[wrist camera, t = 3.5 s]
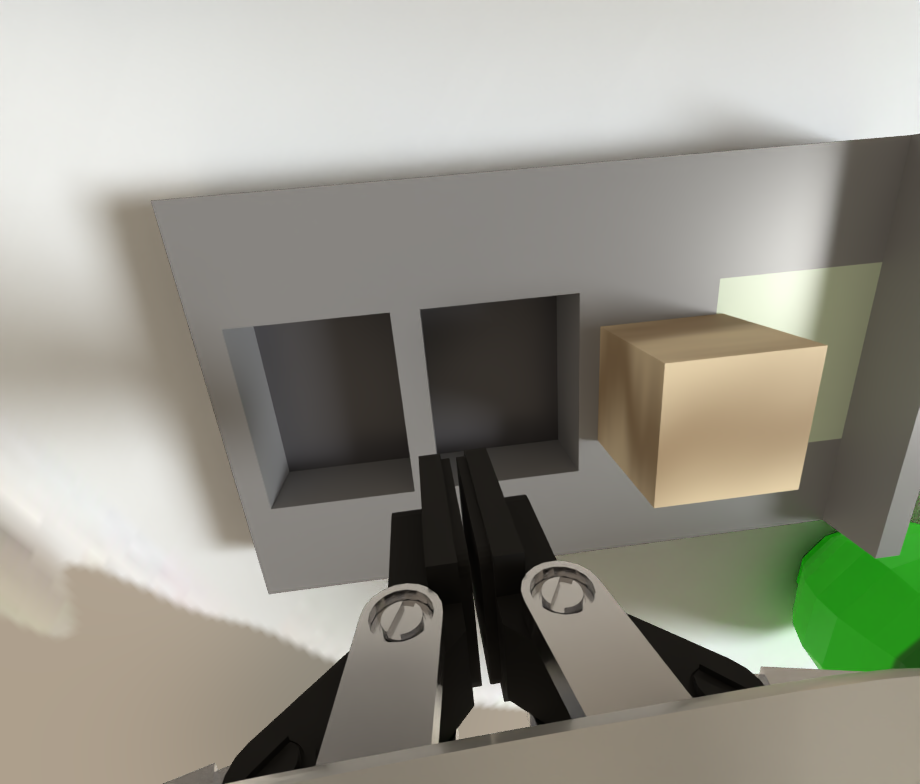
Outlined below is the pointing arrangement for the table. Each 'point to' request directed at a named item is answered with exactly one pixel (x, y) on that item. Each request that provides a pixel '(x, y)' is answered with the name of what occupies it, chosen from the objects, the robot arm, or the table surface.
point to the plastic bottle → (859, 605)
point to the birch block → (707, 406)
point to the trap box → (544, 338)
